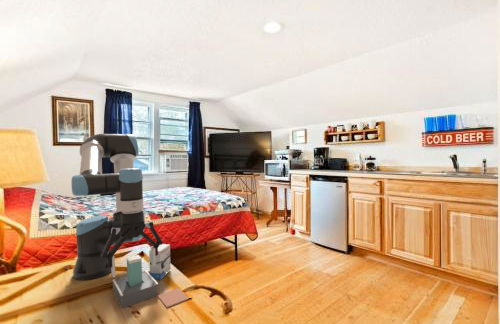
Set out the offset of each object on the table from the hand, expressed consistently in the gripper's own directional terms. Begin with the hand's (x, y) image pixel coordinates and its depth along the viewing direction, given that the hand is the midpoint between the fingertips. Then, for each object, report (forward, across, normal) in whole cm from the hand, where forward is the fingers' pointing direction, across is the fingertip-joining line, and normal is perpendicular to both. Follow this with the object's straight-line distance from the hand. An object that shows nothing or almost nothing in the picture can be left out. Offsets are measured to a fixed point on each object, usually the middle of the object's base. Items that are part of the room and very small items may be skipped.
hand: (134, 270), depth 93 cm
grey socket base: (+9, 0, 0) cm, 9 cm away
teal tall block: (+9, 0, 0) cm, 9 cm away
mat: (+9, +10, -12) cm, 18 cm away
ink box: (+9, +12, +8) cm, 17 cm away
